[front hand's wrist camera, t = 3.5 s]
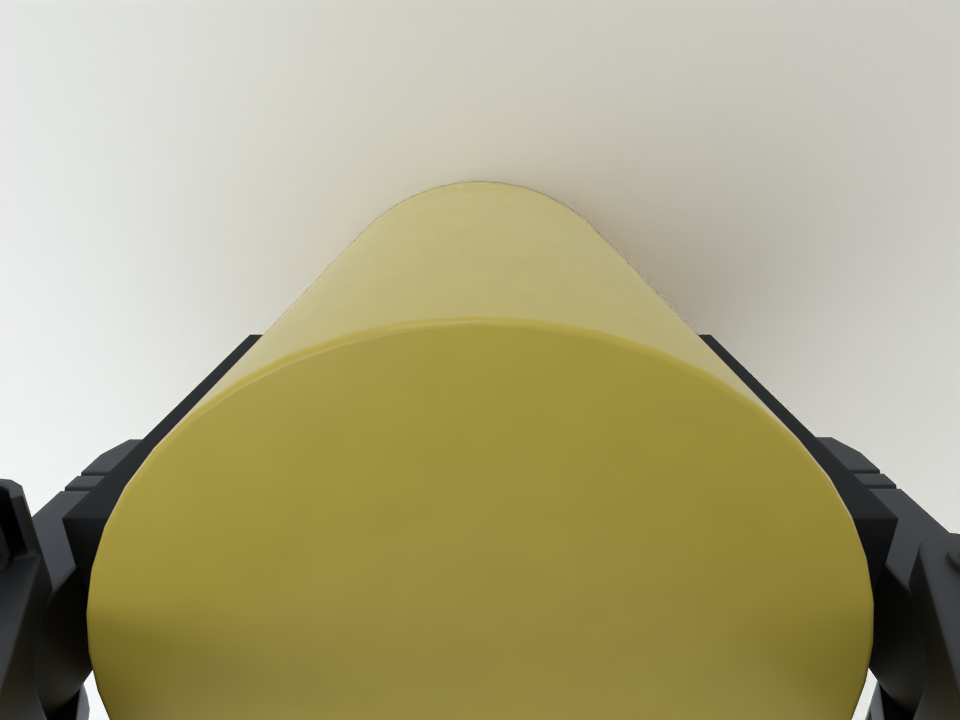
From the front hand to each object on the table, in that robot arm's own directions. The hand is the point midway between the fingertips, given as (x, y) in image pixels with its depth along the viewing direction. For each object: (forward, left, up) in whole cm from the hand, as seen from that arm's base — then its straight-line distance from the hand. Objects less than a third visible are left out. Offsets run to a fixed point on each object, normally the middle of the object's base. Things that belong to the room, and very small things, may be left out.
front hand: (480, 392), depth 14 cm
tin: (0, 0, -3) cm, 3 cm away
